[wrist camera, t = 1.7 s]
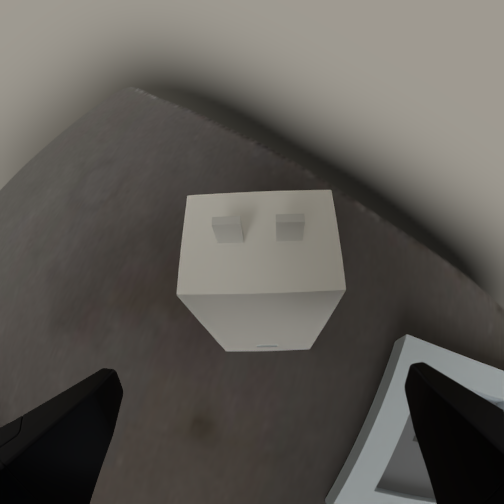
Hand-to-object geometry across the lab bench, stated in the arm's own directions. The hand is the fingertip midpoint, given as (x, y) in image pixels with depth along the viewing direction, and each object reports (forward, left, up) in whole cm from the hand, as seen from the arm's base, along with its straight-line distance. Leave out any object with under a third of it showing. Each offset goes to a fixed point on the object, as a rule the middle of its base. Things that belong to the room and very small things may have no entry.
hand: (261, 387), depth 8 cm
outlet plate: (+6, -11, -12) cm, 17 cm away
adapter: (+3, +4, -12) cm, 13 cm away
